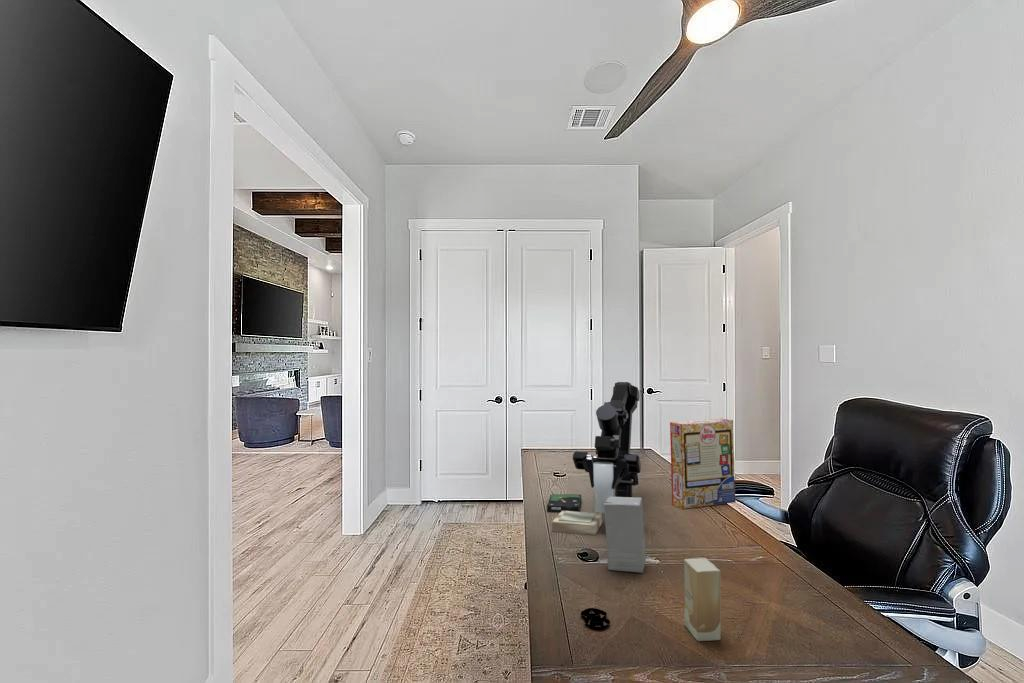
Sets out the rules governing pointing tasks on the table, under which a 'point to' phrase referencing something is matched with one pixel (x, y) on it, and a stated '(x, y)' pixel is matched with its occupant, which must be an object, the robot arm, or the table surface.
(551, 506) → the disk drive
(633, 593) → the table surface
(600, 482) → the ceramic canister
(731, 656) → the table surface
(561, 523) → the square picture frame
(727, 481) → the board game box
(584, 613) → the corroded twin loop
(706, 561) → the skincare box
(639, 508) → the skincare box
